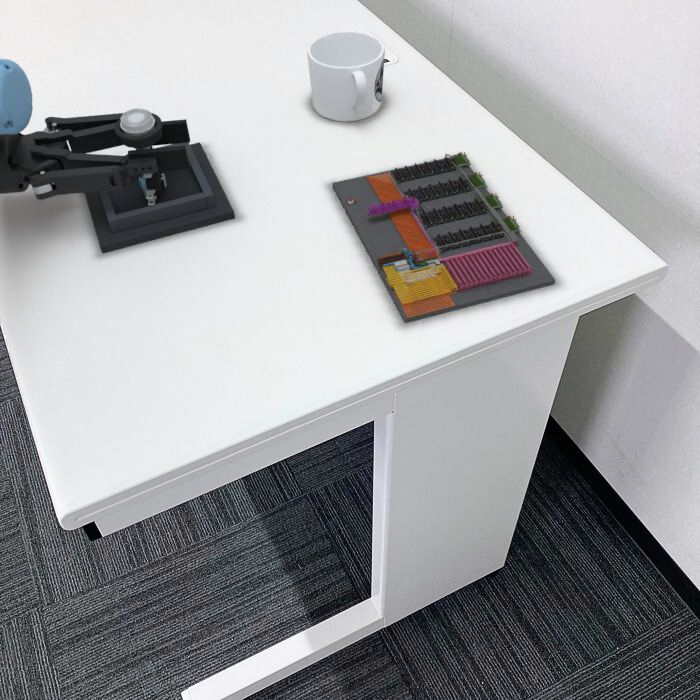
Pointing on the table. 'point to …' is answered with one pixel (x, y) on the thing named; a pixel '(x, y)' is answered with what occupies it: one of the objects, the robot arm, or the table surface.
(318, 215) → the table surface
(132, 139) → the push button
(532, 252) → the circuit board
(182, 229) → the docking pad
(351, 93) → the mug
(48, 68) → the table surface
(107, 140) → the robot arm
